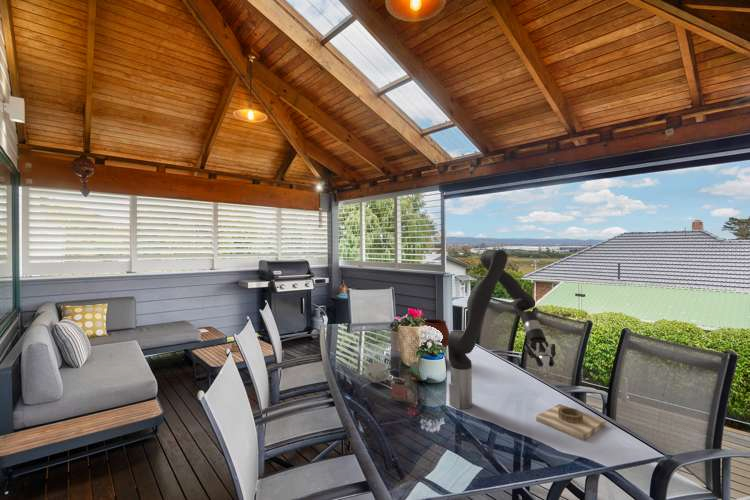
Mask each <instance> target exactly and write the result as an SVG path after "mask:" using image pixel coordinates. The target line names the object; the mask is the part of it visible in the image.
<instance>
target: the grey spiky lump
mask: <svg viewBox="0 0 750 500" xmlns="http://www.w3.org/2000/svg"><path fill="white" fill-rule="evenodd" d="M364 370H365V374H366V376H367V378H368V379H369V380H370V381H371V382H372V383H374V384H381V383H382V382H383V381H387V380H388V372H389V365H388V364H387V363H386V362H385V363H384V362H377V361H376V362H371V363H368V364H366V365H365V366H364Z"/></svg>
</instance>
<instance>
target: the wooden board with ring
mask: <svg viewBox="0 0 750 500" xmlns="http://www.w3.org/2000/svg"><path fill="white" fill-rule="evenodd" d="M535 417H536V418H535V419H536V422H538V423H541V424H543V425H546V426H548V427H550V428H552V429H555V430H557V431H559V432H562V433H564V434H566V435H569V436H571V437H573V438H575V439H578V440H580V441H582V442H584V441H585V440H586V439H588V438H589V437H590V436H593V435H594V434H595V433H597V432H598V431H599V430H601V429H603V428H604V427H605V426H606V420H605V419H603V418H599V417H597V416H593V415H592V414H588V413H586V412H583V411H580V410H579V409H577V408H573V407H569V406H567V405H564V404H561V403H559V404H556V405H554V406H552V407H551V408H549V409H547V410H545V411H543V412H541V413H539V414H538V415H536V416H535Z"/></svg>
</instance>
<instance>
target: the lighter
mask: <svg viewBox="0 0 750 500" xmlns="http://www.w3.org/2000/svg"><path fill="white" fill-rule="evenodd" d="M391 380H392V381H391V382H390V386H391V396H390V398H391V399H392V400H394V401H398V402H407V401H408V400H409V398H408V383H407V382H406V379H405V378H402V377H394V376H393V377H392V379H391Z"/></svg>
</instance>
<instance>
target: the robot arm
mask: <svg viewBox="0 0 750 500" xmlns="http://www.w3.org/2000/svg"><path fill="white" fill-rule="evenodd" d="M480 262H481V265H482V266H483V268H485V269H486V270H487V272H486V274H485V275H484V276H483V278H481V280H479V281H478V282H477V283H476V284H475V285H474V287H473V288H472V289H471V291H470V293H469V296H468V299H467V300H466V301H467V303H466V304H467V305H466V309H467V310H466V311H467V315H468V319H467V324H466V327H465V329H464V330H461V329H453V330H451V331H449V337H448V346H447V350H448V351H447V353H448V360H449V363H450V383H449V384H448V386H449V391H448V392H449V394H448V395H449V399H448V400H449V405H450V406H452V407H454V408H457V409H458V410H461V409H462V410H463V409H465V410H466V409H469V408H471V407H472V406H473V385H472V384H473V383H472V381H473V378H472V374H473V372H472V367H473V366H472V360H471V359H470V358H469V357H468V354H470V353H471V352H472V351H473V350H474V348H475V346H476V344H477V341H478V337H479V332H480V328H481V325H482V322H483V320H484V317H485V314H486V312H487V309H488V307H489V305H490V303H491V299H492V296H493V294H494V291H495V288H496V286H497V283H498V282H499V283H500V284H501V285H502V287H503V288H504V289H505V291H506V292H507V294H508V295H509V297H510V298H511V299H513V301H512V307H513V308H514V310H515V311H516V313H517V314H518V316H520V319H521V321H522V325H523V328H524V332H525V334H526V337H527V340H528V343H529V344H528V343H526V344H524V346H523V349H524V350H525V351H526V353H527V354H528V356H529V358H531V359H535V362H536V364H537V366H538V368H539V367H541V366H542V362H541V359H540V357H539V355H540V353H541V354H545V355H549V356H550V368H553V367H554V365H555V361H554V359H555V358H554V357H555V356H556V344H555V343H552V344H550V343H548V341H547V339H546V335H545V334H544V333H545V332H544V331H543V328H542V326H541V324H540V321H539V319H538V316H537V314H536V312H534V311H532V310H530V309H533V308H535V306H536V300H535V298H534V297H533V296H532V295H531V294H530V293H528V292H526V290H525V289H523V288H522V286H521V285H520V282H518V280H517V279H516V278H515V277H513V276H512V275H511V274H510V273H508V272H507V271H506V270H505V268H506V266H507V263H508V254H507V252H506V251H505V250H503V249H486V250H484V251H483V252H482V253H481V255H480Z"/></svg>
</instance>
